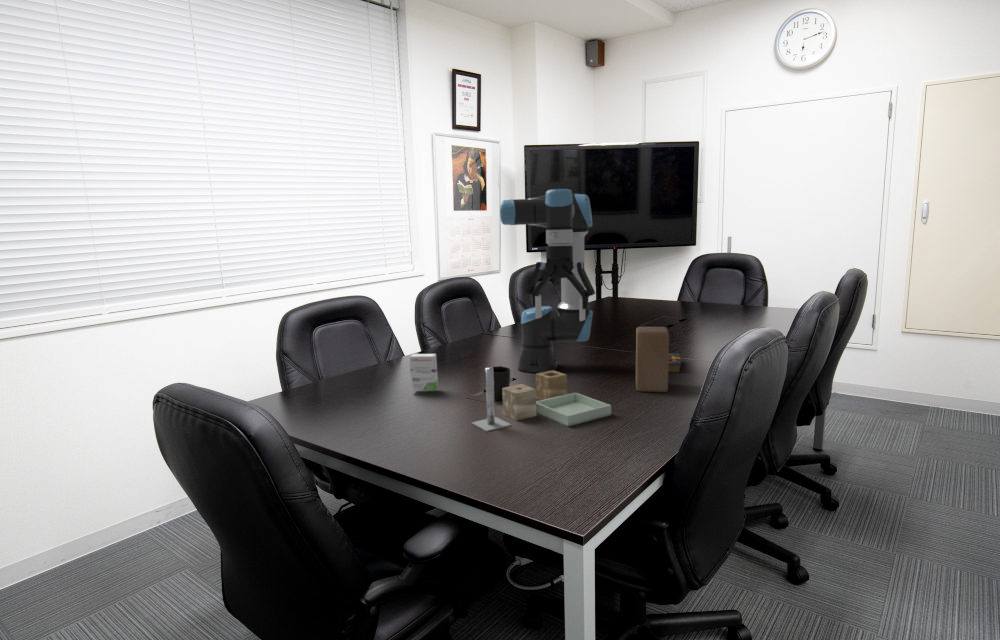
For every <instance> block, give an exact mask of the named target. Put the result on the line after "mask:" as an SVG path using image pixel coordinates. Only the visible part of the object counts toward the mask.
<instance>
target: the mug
mask: <svg viewBox="0 0 1000 640" xmlns="http://www.w3.org/2000/svg"><path fill="white" fill-rule="evenodd" d="M492 367H493V371H494V402H500V401H502V402H503V393H502V388H505V387H510V384H511V369H510V368H509V367H507V366H502V365H498V366H492ZM483 371H484V372H483V374H484V376H483V377H484V385H485V386H486V371H485V369H483Z"/></svg>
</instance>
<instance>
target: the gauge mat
mask: <svg viewBox="0 0 1000 640" xmlns="http://www.w3.org/2000/svg"><path fill="white" fill-rule="evenodd" d="M471 425H473V426H475V427H477V428H478V429H480V430H483V431H484V432H487V433H488V432H492V431H496V430H499V429H504V428H507V427H511V426H512V424H511V423H509V422H507V421H505V420H503V419H501V418H499V417H497V416H495V424H493V425H488V424H487V418H485V419H481V420H476V421H473V422H471Z"/></svg>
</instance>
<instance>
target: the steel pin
mask: <svg viewBox="0 0 1000 640" xmlns="http://www.w3.org/2000/svg"><path fill="white" fill-rule="evenodd" d="M493 367H494V366H486V367H485V368H484V370H485V371H486V385H485V394H486V395H485V396H486V400H485V401H486V419H487V424H488V425H493V424H495V417H496V413H495V412H496V409H495V406H496V405H495V401H494V371H493Z"/></svg>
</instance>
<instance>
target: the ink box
mask: <svg viewBox="0 0 1000 640" xmlns="http://www.w3.org/2000/svg"><path fill="white" fill-rule="evenodd" d="M437 363H438V362H437V353H412V354H411V355H410V356H409V367H410V368H409V370H410V384H411V385H410V386H411V390H412V391H436V390H437V389H438V387H439V377H438V364H437Z"/></svg>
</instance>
